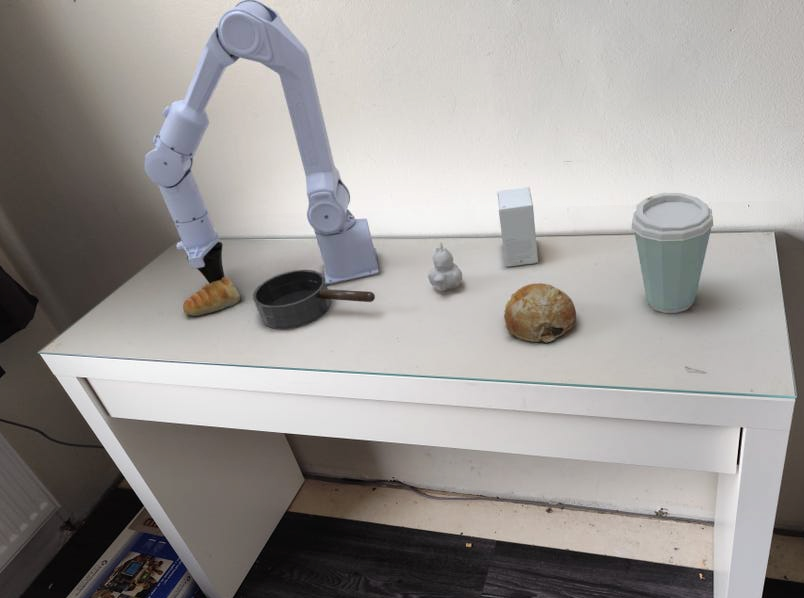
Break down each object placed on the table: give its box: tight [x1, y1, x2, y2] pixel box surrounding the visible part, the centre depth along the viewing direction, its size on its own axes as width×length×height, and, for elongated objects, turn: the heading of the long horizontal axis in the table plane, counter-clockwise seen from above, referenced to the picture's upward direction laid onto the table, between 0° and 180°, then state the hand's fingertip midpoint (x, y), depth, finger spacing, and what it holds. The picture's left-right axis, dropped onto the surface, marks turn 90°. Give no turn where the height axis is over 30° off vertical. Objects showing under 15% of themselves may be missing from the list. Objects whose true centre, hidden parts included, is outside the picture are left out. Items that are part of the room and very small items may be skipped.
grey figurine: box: [427, 242, 463, 291], centre depth 107 cm, size 5×7×8 cm
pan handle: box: [319, 288, 376, 303], centre depth 106 cm, size 10×2×2 cm, turn 71°
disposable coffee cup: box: [630, 192, 714, 314], centre depth 93 cm, size 11×11×15 cm
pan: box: [252, 269, 332, 330], centre depth 110 cm, size 12×12×4 cm
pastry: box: [182, 276, 241, 317], centre depth 115 cm, size 9×7×4 cm
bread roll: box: [503, 282, 577, 344], centre depth 96 cm, size 10×10×8 cm
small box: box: [496, 186, 539, 268], centre depth 112 cm, size 8×6×10 cm
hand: (219, 285), depth 120 cm, fingers closed
